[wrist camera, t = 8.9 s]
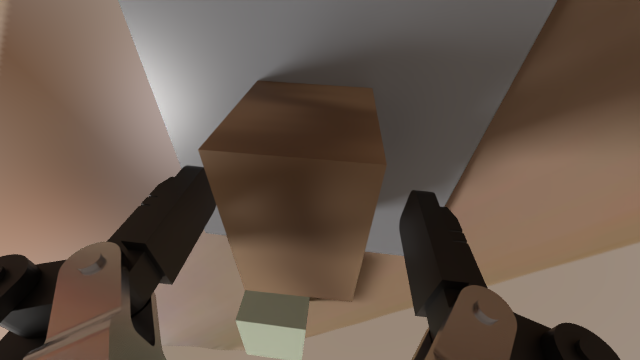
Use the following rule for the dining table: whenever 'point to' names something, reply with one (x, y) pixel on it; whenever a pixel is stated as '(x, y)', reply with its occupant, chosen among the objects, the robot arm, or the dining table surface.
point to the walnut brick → (298, 185)
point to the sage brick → (273, 324)
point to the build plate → (344, 74)
